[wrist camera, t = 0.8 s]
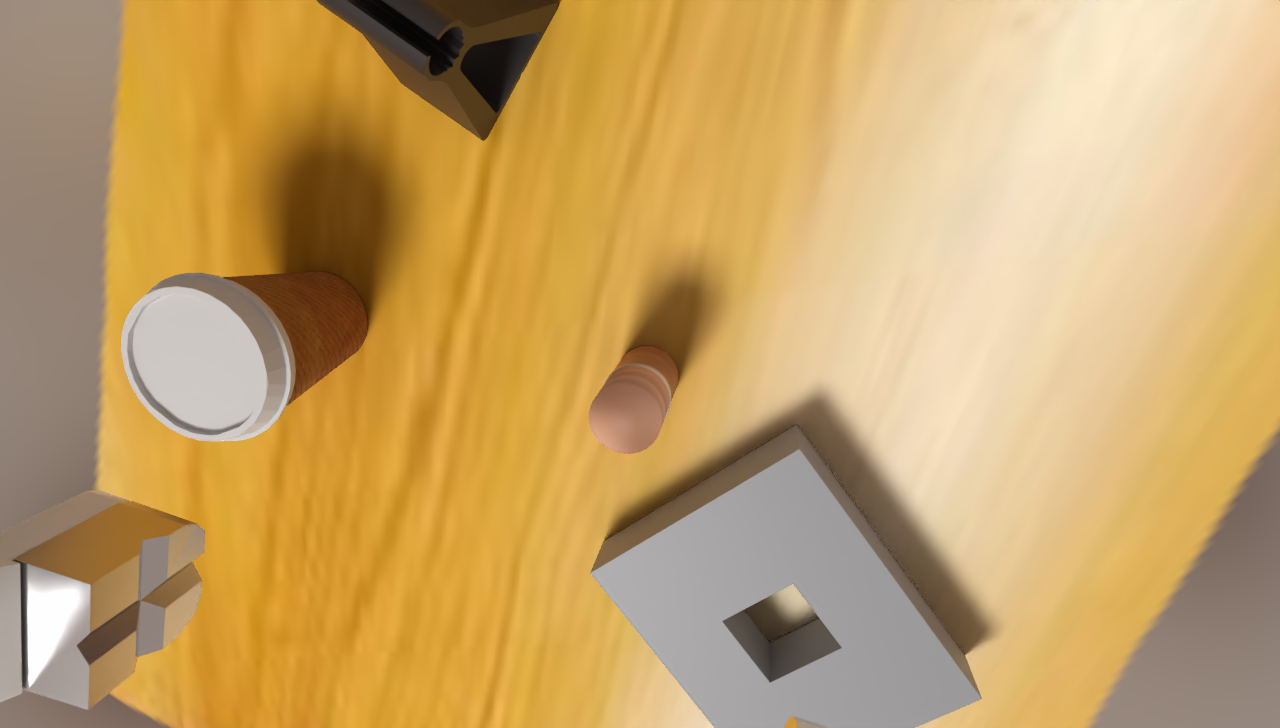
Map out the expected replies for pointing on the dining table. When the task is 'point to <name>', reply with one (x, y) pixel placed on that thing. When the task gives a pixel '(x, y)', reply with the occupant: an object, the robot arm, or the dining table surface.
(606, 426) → the terracotta peg
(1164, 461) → the dining table surface
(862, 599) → the gray board
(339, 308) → the disposable coffee cup
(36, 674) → the robot arm
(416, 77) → the phone stand
